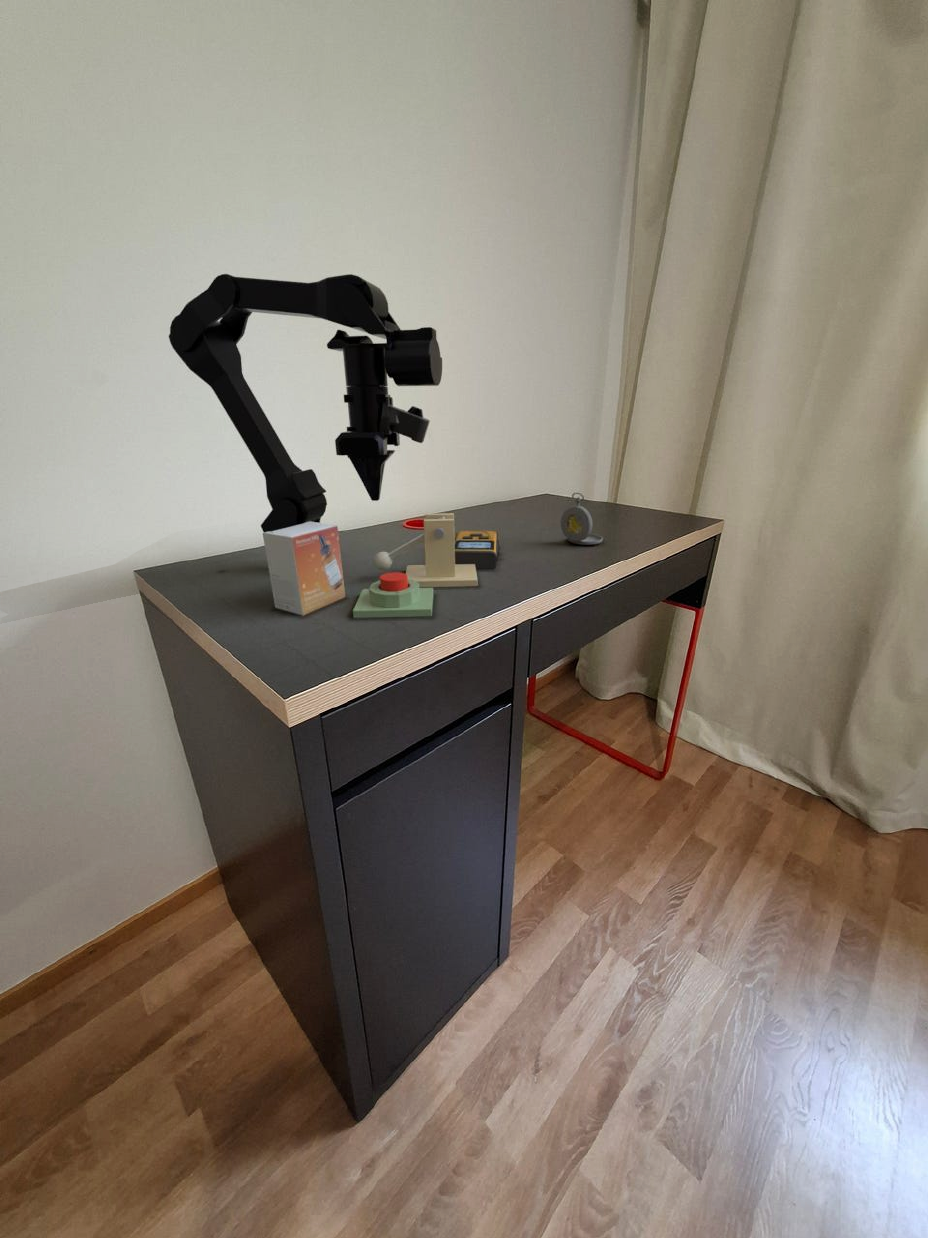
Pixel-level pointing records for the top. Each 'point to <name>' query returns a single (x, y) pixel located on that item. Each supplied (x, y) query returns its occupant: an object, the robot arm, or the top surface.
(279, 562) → the small box
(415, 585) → the button block
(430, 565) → the bracket
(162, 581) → the top surface
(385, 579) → the button
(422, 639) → the top surface
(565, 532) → the pocket watch
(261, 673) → the top surface
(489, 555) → the electronic device
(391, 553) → the lever
